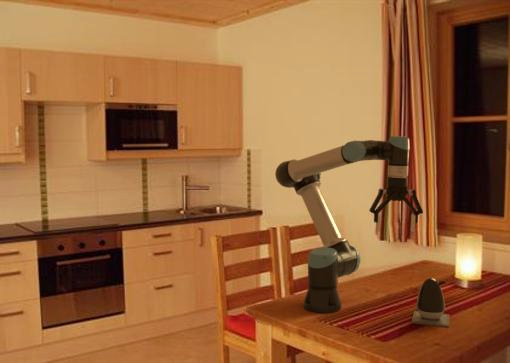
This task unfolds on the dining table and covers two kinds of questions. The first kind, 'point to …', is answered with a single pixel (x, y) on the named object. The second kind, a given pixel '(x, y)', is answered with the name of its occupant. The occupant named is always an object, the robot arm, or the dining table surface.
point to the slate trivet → (438, 322)
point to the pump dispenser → (431, 299)
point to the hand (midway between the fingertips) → (395, 231)
